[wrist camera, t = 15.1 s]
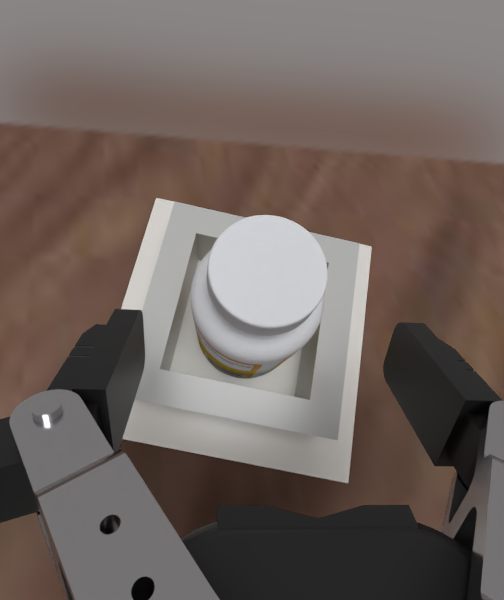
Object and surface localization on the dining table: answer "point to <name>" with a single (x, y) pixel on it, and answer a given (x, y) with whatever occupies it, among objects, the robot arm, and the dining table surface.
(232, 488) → the dining table surface
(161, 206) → the socket block
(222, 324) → the supplement bottle
